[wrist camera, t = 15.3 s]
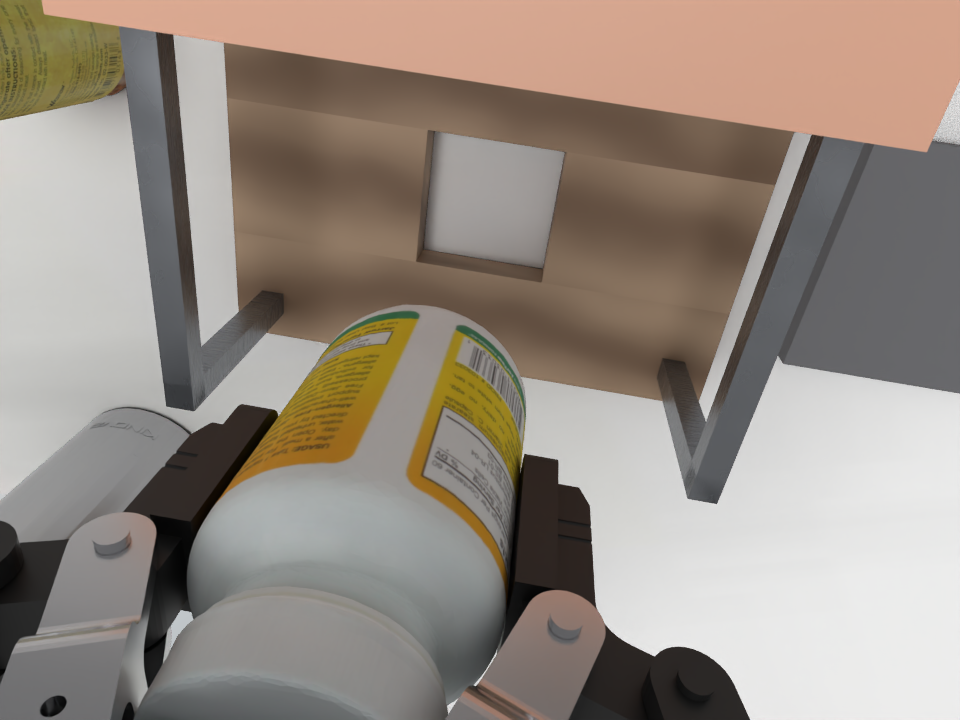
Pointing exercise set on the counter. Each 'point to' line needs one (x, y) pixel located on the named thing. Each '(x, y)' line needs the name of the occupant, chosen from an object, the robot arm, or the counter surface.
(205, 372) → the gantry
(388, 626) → the supplement bottle
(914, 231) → the mat
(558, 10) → the sliding cover
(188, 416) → the counter surface
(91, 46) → the sauce bottle
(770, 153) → the well board
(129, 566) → the robot arm
